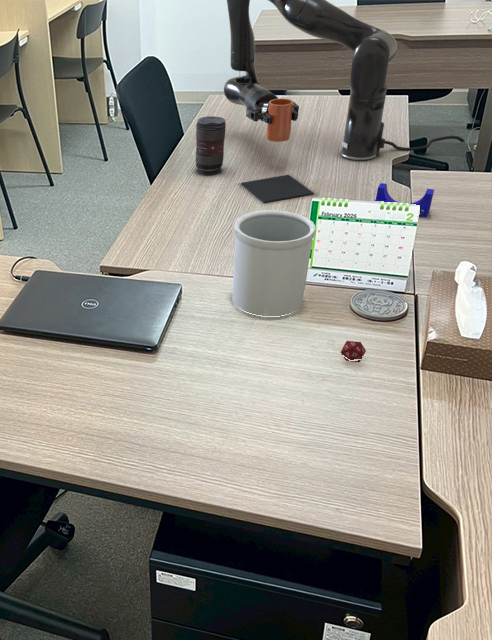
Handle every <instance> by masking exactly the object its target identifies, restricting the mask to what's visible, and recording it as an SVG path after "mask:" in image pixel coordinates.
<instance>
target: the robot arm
mask: <svg viewBox="0 0 492 640" xmlns="http://www.w3.org/2000/svg"><path fill="white" fill-rule="evenodd" d="M267 1H269V2H270V3H271V4H272V5H273V6H275V8H276V9H277V10H278V11H279V14H281V16H282V17H283V18H284V20H285V21H286V22H287V23H289V24H290V25H291V26H293V27H294V28H296V29H298V30H300V31H301V32H302V33H303V32H304V34H307V35H309V36H312V37H314V38H317V39H321V40H325V41H329V42H332V43H337V44H339V45H342V46H344V47H345V48H347V49H348V50H350V51H352V52H353V55H352V60H351V66H350V67H351V68H350V76H349V88H350V93H349V100H348V107H347V113H346V121H345V128H344V136H343V140H342V143H341V147H342V148H341V153H340V155H341V156H342V157H343V158H344V159H347V160H350V161H351V160H352V161H369V160H372V159H374V158H376V157H379V156H380V151H381V149H384V148H385V145H389V146H391V147H392V148H394V149H395V150H397V151H398V150H399V151H404V152H405V151H408V152H413V151H421V150H425V149H428V148H429V147H431V145H432V143H434V142H439V141H444V140H450V139H453V140H458V141H459V142H460V143H466V140H465V139H463V137H461V136H459V135H445V136H440V137H435V138H432V139H430V140H429V141H428V142H427V144H425V145H422V146H414V147H413V146H412V147H403V146H398V145H397V144H396V143H395V142H392V141H389V140H386V138H383V133H384V128H385V123H384V122H383V121H382V120H383V117H384V116H383V114H384V108H385V103H386V98H387V92H388V84H387V76H388V75H387V74H388V68H389V63H390V62H391V61H392V60H393V59H394V57H395V56H396V54H397V50H398V44H397V40H396V39H395V37H394V35H392V34H391V33H389V32H388V31H385V30H384V29H381V28H378V27H375V26H374V25H371V24H369V23H366V22H364V21H361V20H359V19H358V18H356V17H354V16H353V15H350V14H349V13H348V12H346V11H345V10H343V9H341V8H339V7H338V6H336V5H334V4H333V3H332V2H329V1H328V0H267ZM250 3H251V0H226V5H227V12H228V19H229V21H228V22H229V33H230V68H231V70H233V71H235V72H245V75H241V76H236V77H235V76H234V77H231V78H229V79H228V80H227V81H226V82H225V83H224V86H223V93H224V96H225V98H226V100H227V101H228V102H229V103H232V104H235V105H238V106H239V105H240V106H243V107H245V108H246V110H245V117H246V118H248V119H249V120H251V121H252V122H259V121H260V122H264V123H265V124H266V125H267V124H272V116H271V115H270V114H268V108H269V101H271V100H273V99H279V98H278V96H277V95H276V94H274V93H273V92H272V91H270V90H269V89H267V88H265V87H263V86H262V85H260V81H259V78H258V73H257V69H256V63H255V52H256V51H255V50H256V43H255V42H256V41H255V39H256V38H255V34H254V29H253V27H252V23H251V17H250ZM299 110H300V106H299V105H298V104H297V103H296V102H295V101H293V112H292V122H297V120H298V119H299Z"/></svg>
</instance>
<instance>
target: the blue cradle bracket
mask: <svg viewBox="0 0 492 640" xmlns="http://www.w3.org/2000/svg"><path fill="white" fill-rule="evenodd" d="M434 192H435V189H432V188H426V190H425V192H424V195H423V196H422V197H420V199H419V200H416V201H414V202H411V203H410V204H416V205H420V215H419V217H418V218H425V219H427V218H428V216H429V214H430V210H431V206H432V202H433V197H434ZM374 201H384V202H398V201H397V200H395V199H393V198H392V196H391V195H390V193H389V191H388V184H387V183H384V182H379V185H378V187H377V190H376V195H375V199H374Z"/></svg>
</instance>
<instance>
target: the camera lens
mask: <svg viewBox="0 0 492 640" xmlns="http://www.w3.org/2000/svg"><path fill="white" fill-rule="evenodd" d="M195 126H196V128H195V140H196V145H195V146H196V147H195V167H196V170H197V173H198V174H200V175H203V176H213V175H217V174H219V173H220V172H221V171H222V167H223V165H224V154H225V152H224V151H225V150H224V149H225V147H224V146H225V139H226V128H227V127H226V126H227V123H226V119H225V118H224V117H221V116H213V115H211V116H210V115H209V116H203V117H199V118H198V119H197V122H196V125H195Z"/></svg>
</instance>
